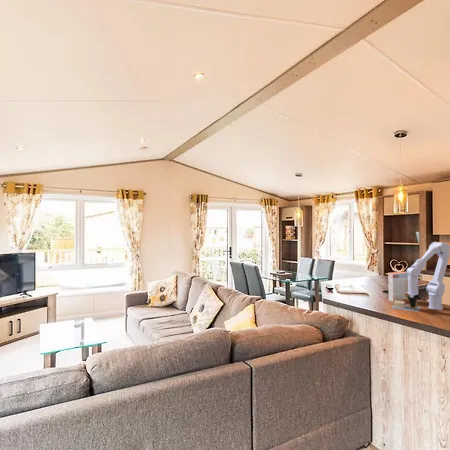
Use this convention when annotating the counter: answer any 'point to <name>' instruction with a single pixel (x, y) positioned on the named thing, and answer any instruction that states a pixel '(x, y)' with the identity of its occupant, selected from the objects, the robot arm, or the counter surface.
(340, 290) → the counter surface
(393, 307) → the building mat
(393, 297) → the cracker box
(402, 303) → the beech slab
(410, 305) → the walnut block
